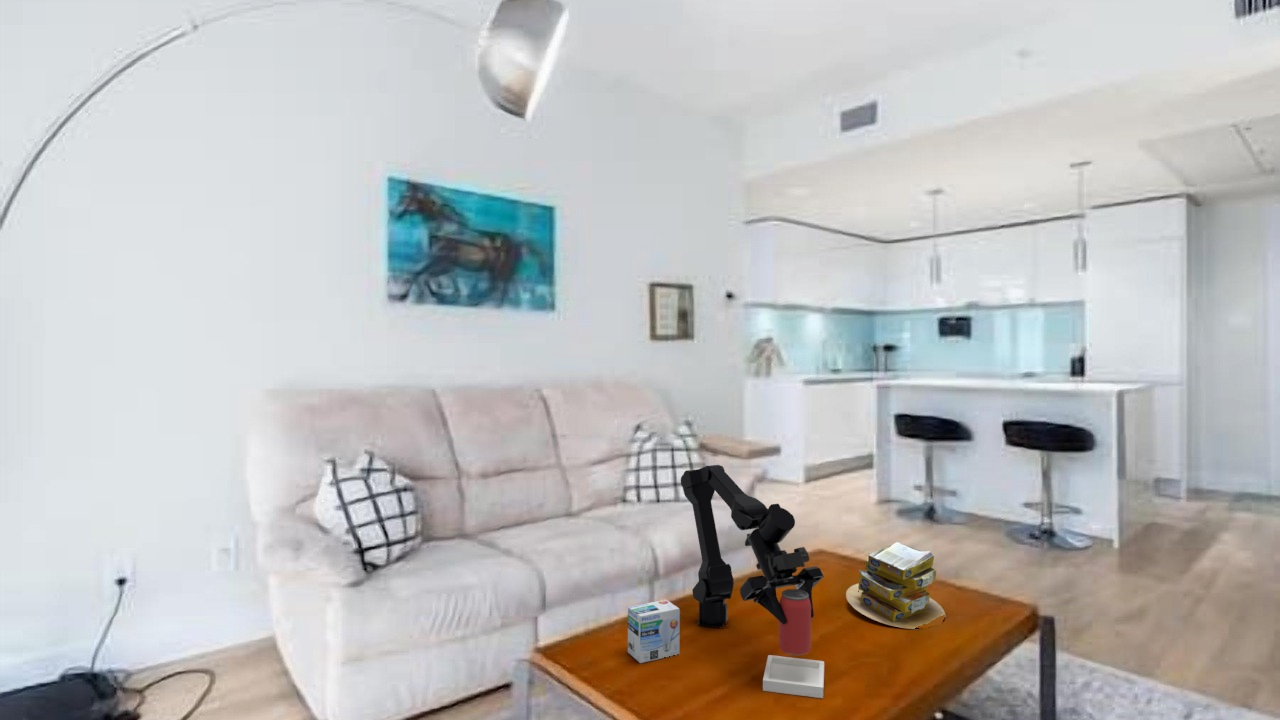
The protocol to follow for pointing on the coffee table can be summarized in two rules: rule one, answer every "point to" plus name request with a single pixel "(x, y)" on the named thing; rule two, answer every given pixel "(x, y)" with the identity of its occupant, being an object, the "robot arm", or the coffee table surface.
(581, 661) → the coffee table surface
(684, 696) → the coffee table surface
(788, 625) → the beer can
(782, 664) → the dock tray
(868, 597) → the stacked boxes on plate
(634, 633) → the light bulb box
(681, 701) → the coffee table surface
